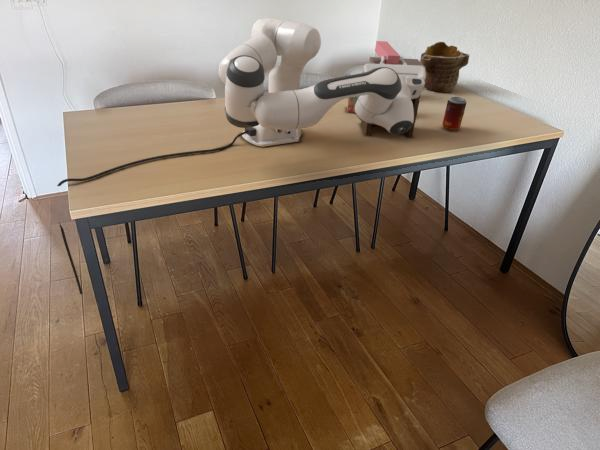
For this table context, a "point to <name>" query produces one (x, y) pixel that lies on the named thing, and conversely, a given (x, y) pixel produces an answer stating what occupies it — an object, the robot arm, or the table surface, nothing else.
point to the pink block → (387, 52)
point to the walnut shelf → (415, 101)
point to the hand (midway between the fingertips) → (391, 57)
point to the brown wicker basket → (442, 66)
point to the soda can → (454, 113)
